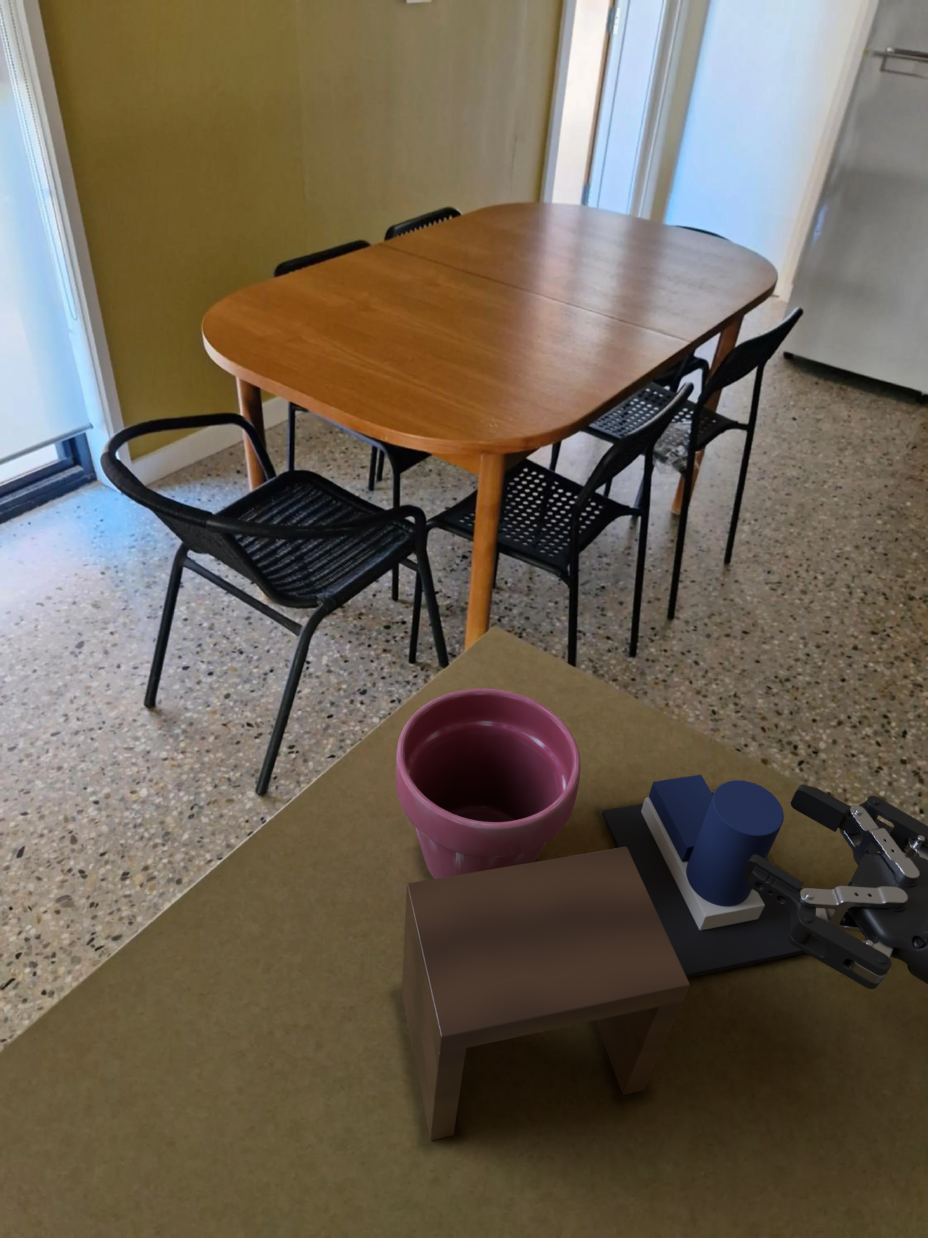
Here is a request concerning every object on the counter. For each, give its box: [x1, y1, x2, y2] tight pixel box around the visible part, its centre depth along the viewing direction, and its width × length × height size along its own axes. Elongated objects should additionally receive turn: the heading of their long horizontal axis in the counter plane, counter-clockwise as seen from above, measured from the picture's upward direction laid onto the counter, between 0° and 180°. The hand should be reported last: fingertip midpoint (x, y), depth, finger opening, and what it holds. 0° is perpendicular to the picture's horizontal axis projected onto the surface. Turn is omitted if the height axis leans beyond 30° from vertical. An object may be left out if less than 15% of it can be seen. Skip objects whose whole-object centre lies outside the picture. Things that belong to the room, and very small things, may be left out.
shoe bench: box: [401, 847, 691, 1141], centre depth 58 cm, size 10×15×14 cm, turn 104°
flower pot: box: [395, 688, 582, 879], centre depth 71 cm, size 14×14×13 cm
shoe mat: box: [601, 792, 806, 979], centre depth 74 cm, size 16×12×1 cm
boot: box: [641, 774, 785, 930], centre depth 72 cm, size 12×5×11 cm, turn 14°
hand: (771, 828), depth 65 cm, fingers open, 8 cm apart
